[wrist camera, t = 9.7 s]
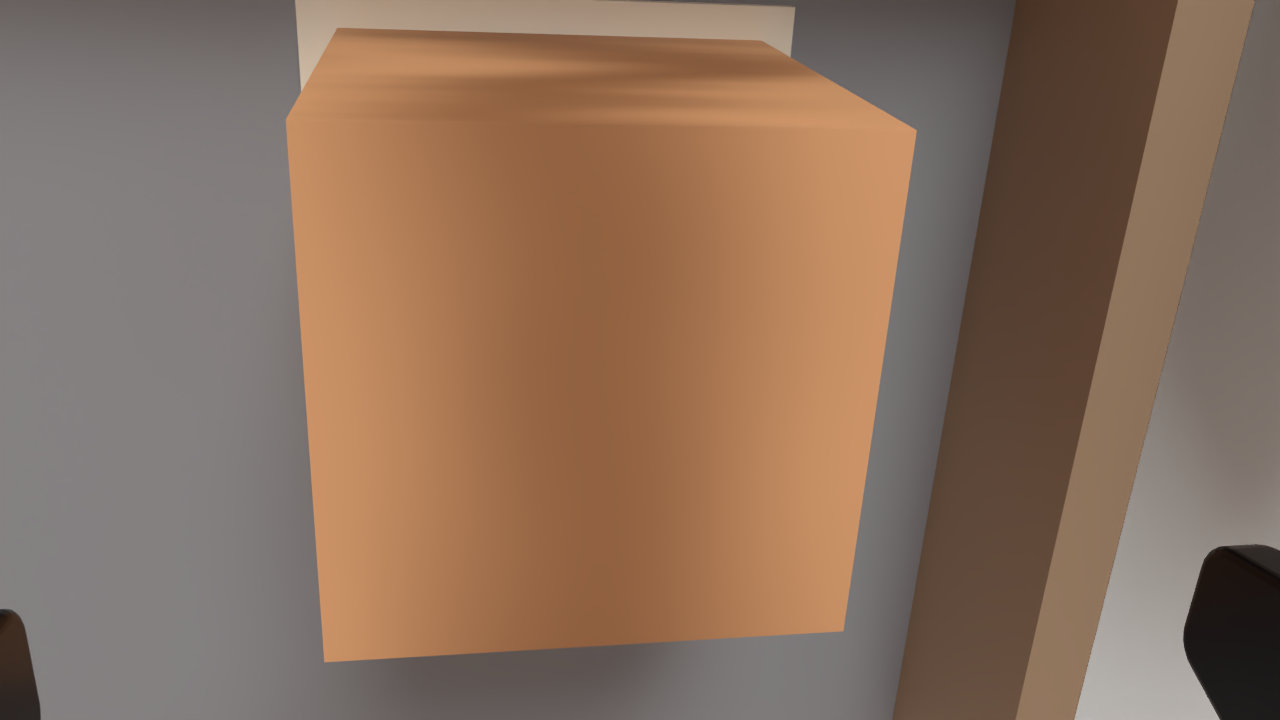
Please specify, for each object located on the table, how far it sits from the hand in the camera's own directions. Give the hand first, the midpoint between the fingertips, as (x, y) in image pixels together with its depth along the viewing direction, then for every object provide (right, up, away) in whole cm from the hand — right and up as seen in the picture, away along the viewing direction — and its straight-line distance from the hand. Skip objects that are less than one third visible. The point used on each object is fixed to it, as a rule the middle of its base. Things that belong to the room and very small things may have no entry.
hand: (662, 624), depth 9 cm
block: (-1, +4, +9) cm, 10 cm away
